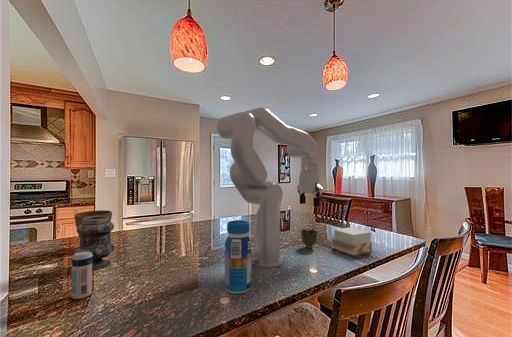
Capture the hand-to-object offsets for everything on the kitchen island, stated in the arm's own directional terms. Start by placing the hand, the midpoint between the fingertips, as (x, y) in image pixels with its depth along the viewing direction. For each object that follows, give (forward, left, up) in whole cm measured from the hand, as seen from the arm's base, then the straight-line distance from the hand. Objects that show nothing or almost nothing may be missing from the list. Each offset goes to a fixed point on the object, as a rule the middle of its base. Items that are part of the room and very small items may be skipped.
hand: (309, 204), depth 115 cm
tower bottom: (+16, -11, -21) cm, 28 cm away
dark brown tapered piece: (0, 0, -20) cm, 20 cm away
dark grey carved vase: (-86, +20, -20) cm, 91 cm away
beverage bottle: (-46, -21, -20) cm, 55 cm away
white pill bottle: (-87, -5, -20) cm, 90 cm away
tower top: (+16, -11, -16) cm, 25 cm away
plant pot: (-89, +47, -20) cm, 103 cm away
